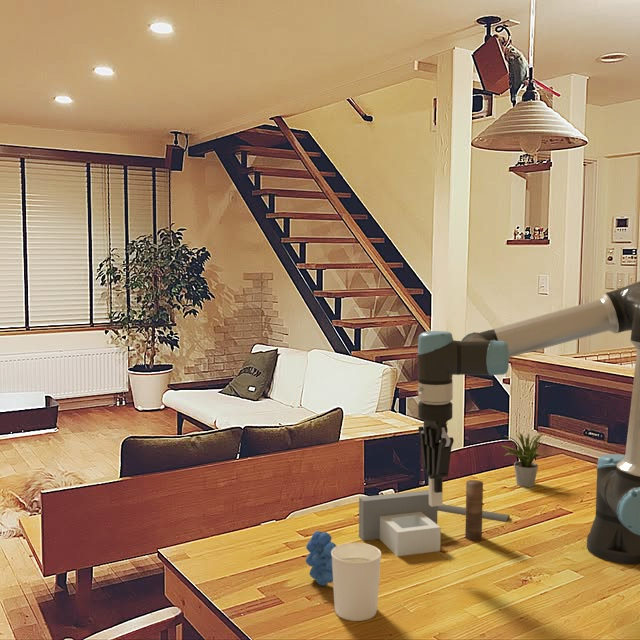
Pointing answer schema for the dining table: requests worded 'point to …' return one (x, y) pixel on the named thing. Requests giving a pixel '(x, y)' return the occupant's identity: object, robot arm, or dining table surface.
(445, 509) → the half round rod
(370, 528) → the wall
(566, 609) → the dining table surface
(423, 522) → the white square open box
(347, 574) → the candle holder
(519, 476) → the house plant
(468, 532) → the dowel
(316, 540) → the grapes
